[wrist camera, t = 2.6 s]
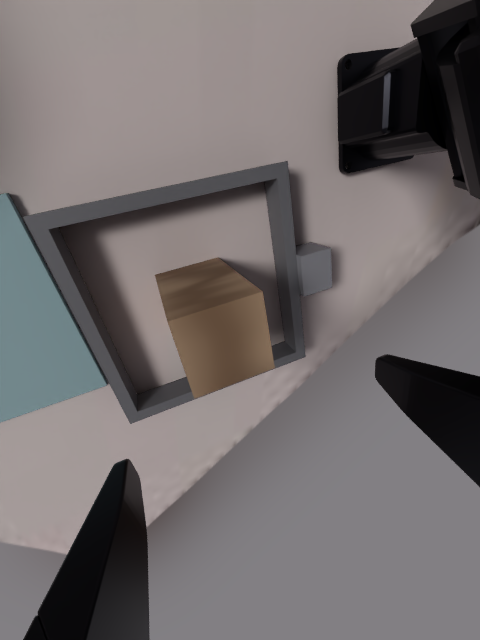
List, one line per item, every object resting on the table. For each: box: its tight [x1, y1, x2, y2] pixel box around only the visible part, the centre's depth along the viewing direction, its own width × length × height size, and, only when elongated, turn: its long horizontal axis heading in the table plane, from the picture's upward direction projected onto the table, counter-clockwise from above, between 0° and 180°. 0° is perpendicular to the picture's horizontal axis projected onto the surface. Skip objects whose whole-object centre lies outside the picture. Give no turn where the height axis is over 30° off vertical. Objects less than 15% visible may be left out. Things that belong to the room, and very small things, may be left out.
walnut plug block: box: [155, 258, 275, 399], centre depth 17 cm, size 4×4×8 cm
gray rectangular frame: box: [23, 161, 332, 424], centre depth 20 cm, size 17×15×3 cm
